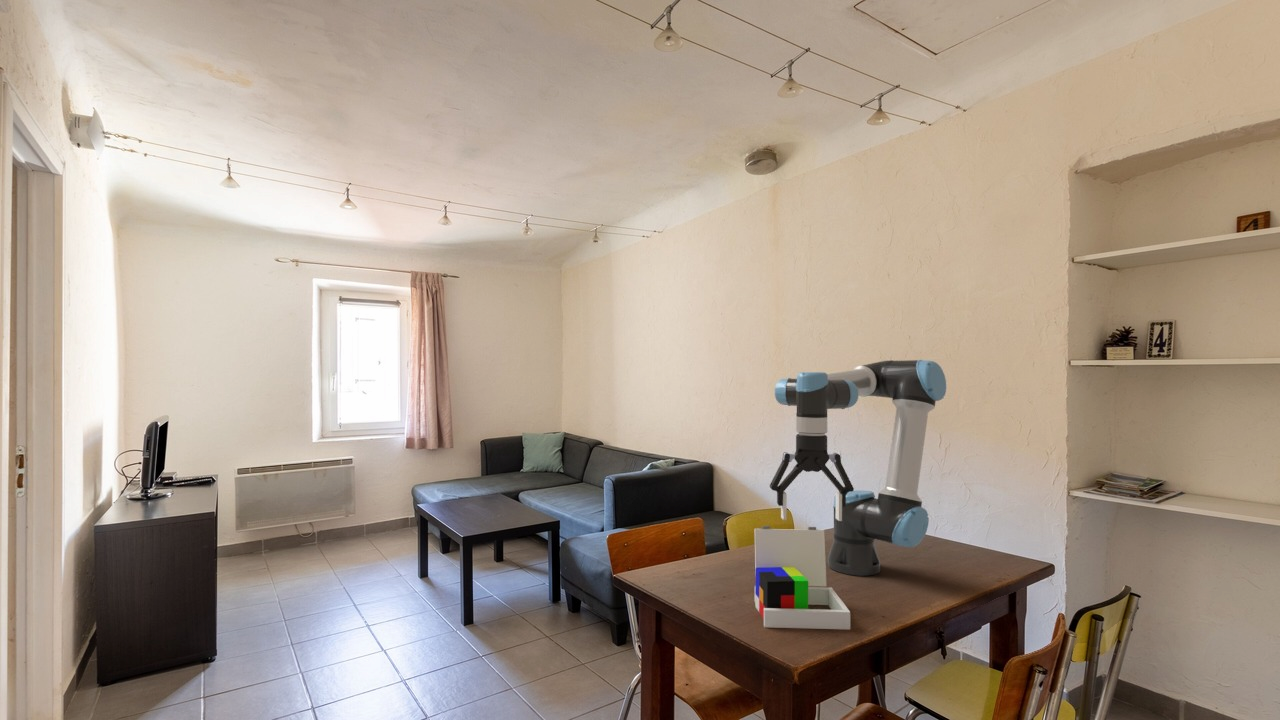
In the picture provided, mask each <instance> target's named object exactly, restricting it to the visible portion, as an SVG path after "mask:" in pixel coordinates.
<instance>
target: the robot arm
mask: <svg viewBox="0 0 1280 720" xmlns="http://www.w3.org/2000/svg"><path fill="white" fill-rule="evenodd" d="M946 392H947V379H946V375H945V372H944V369H943V368H942V367H941V365H940V364H939V363H938V362H935V361H933V360H924V359H916V360H914V359H913V360H911V359H910V360H909V359H908V360H881V361H877V362H876V361H875V362H873V363H868V364H862V365H857V366H855V367H854V368H852V369H851V370H846V371H841V372H839V371H838V372H831V373H826V372H822V371H820V372H818V371H817V372H816V371H815V372H814V371H813V372H811V371H810V372H809V371H805V372H804V371H802V372H799V373H798V374H797V376H796V378H791V377H788V378H781V379H779V380H778V381H777V382H776V384H775V387H774V398H775V399H776V402H777V403H778V404H780V405H782V406H787V407H792V406H793V407H795V406H796V417H795V418H796V419H795V420H796V421H795V426H796V427H795V430H796V432H797V434H796V435H795V452H794V453H788V452H786V451H785V452H783V454H782V458H781V459H782V461H781V463H780V465H778V466H779V467H778V468H777V470H776V472H775V474H774V475H773V478H772V480H771V482H770V483H769V488H770V489H771V490H772V491H774V492H776V503H777V505H778V506H779V507H780V518H781V520H782V521H787V492H785V491H786V489H787V488H788V487H789V486H790V485H791V484H792V483H793V481H794V480H795V479H796V478H797V477H798V476H799V474H801V473H802V472H808V473H809V472H815V473H819V472H820V471H821V472H823V474H824V476H826V477H827V479H828V480H829V481H830V482H831V483H832V485H833V486H834V487H835V488H836V489H837V491H835V494H834V498H833V506H832V507H833V541H832V544H831V547H830V549H829V553H828V555H827V567H828V568H830V569H831V570H833V571H835V572H838V573H842V574H847V575H851V576H852V575H853V576H862V577H863V576H874V575H878V574H879V573H880V572H881V561H880V558H879V555H878V552H877V549H876V546H875V541H881V542H884V543H888V544H892V545H894V546H898V547H901V546H902V547H906V548H914V547H916V546H918V545H919V544H920V543H921V542H922V541H923V539H924V538H925V536H926V533H927V531H928V528H929V521H930V520H929V514H928V511H927V510H926V509H925V508H924V507H922V506H923V505H922V504H923V500H922V499H921V498H920V496H919V495H918V490H919V482H920V476H921V469H922V460H923V453H924V446H925V440H926V439H925V438H926V431H927V424H928V417H929V413H930V412H931V411H933V410H935V408H936V402H939V401H941V400H943V399H944V397H945V396H946ZM859 397H862V398H864V397H877V398H879V397H880V398H888V399H891V402H892V404H893V405H894V406H895V409H896V410H895V416H894V417H895V418H894V424H893V431H892V432H893V433H892V436H891V437H892V438H891V444H890V445H891V446H890V452H889V459H888V465H887V470H886V472H887V473H886V477H885V478H886V479H885V480H886V481H885V486H884V488H883V489H882V490H880V491H879V492H878V494H877V495H878V496H877V498H876V495H875V492H873V491H871V490H855V487H854V486H853V484H852V482H851V481H850V478H849V476H848V474H847V472H846V470H845V468H844V466H843V464H842V457H841V454H840V453H837V452H833V453H832V454H830V453H828V436H827V433H828V410H837V409H839V410H845V409H848V408H851V407H854V405H856V404H857V402H858V400H859ZM793 460H795V461H796V464H795V465H794V466H793V468H792V470H790V472H789V473H788V474H787V475H786V477H784V475H785V472H786V471H787V469H788V467H789V464H790V463H791V462H792V461H793ZM829 461H830V462H832V463H833V465H834V467H835V469H836V470H837V471H836V472H837V473H838V475H839V477H840V479H841V481H842V483H843V485H844V486H843V485H842V484H841V483H840V480H838V479H837V477H835V475H834V474H833V473H832V472H831V470H830V469H829V468H828V467H827V463H828V462H829ZM783 477H784V479H783V480H782V478H783Z"/></svg>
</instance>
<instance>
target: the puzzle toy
mask: <svg viewBox="0 0 1280 720" xmlns="http://www.w3.org/2000/svg"><path fill="white" fill-rule="evenodd" d="M755 586H756V597H755V596H754V604H755V605H754V606H755V609H756V610H757V611H758V613H759V614H760V616H761V617H762V618H763V619H764V608H781V609H809V605H808V587H809V586H808V580H807V579H806V578H805V577H804V576H803V575H802V574H801V573H800V572H799V571H798V570H797V569H796V568H795V567H759V568H756V575H755Z"/></svg>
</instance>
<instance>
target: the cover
mask: <svg viewBox="0 0 1280 720" xmlns="http://www.w3.org/2000/svg"><path fill="white" fill-rule="evenodd" d="M825 542H826V541H825V529H817V527H816V526H807V529H796V528H795V529H792V528H790V529H789V528H788V529H786V528H785V529H784V528H783V529H782V528H771V526H770V525H762V526H761V528H754V565H755V566H754V567H755V568H754V569H755V570H754V572H755V576H756V568H759V567H795V568H796V569H797V570H798V571H799V572H800V573H801V574H802V575H803V576H804V577H805V578H806V579H807V580H808V587H827V568H826V566H827V565H826V543H825Z"/></svg>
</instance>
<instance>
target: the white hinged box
mask: <svg viewBox="0 0 1280 720" xmlns="http://www.w3.org/2000/svg"><path fill="white" fill-rule="evenodd" d="M838 595H839V594H837V593H836V591H835V590H834V589H833V587H824V586H808V606H809V605H810V606H811V605H812V606H813V605H814V606H815V605H816V606H817V605H819V606H828V607H829V608H830V609H824V608H823V609H821V608H817V609H816V608H812V609H811V608H808V609H781V608H764V618H763V627H764V628H770V629H771V628H772V629H773V628H775V629H776V628H778V629H779V628H780V629H781V628H782V629H784V628H785V629H813V630H814V629H818V630H819V629H820V630H824V629H825V630H851V611H850V610H849V608H848V607H847V606H846V604H845V603H844V601H843V600H842V599H841V598H840V597H839V596H838ZM755 597H756V585H754V598H755Z"/></svg>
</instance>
